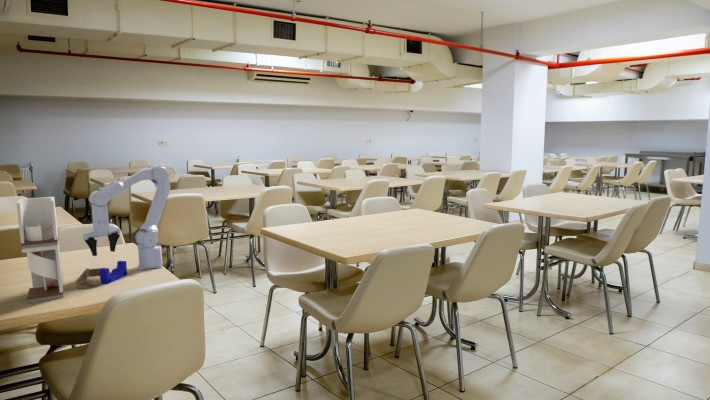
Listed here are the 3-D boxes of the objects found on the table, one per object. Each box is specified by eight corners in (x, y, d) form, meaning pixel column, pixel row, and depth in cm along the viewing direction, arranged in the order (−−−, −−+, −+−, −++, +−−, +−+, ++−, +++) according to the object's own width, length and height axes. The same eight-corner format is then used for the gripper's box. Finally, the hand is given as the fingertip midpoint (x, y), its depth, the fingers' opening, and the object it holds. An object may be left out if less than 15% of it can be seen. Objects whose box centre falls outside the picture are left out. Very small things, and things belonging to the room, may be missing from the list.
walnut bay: (105, 273, 207) (105, 266, 206) (97, 286, 190) (97, 279, 189) (86, 275, 205) (86, 268, 204) (77, 288, 188) (76, 280, 187)
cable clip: (117, 274, 206) (116, 260, 205) (127, 275, 205) (126, 261, 204) (97, 283, 194) (96, 268, 193) (107, 284, 193) (106, 269, 192)
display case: (29, 293, 183) (19, 198, 177) (63, 288, 188) (54, 196, 183) (27, 303, 173) (16, 203, 168) (63, 297, 178) (53, 200, 173)
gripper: (112, 216, 209) (115, 248, 211) (77, 222, 197) (80, 256, 199) (121, 218, 205) (124, 250, 208) (87, 224, 193) (90, 258, 196)
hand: (103, 253), depth 203 cm, fingers open, 7 cm apart
